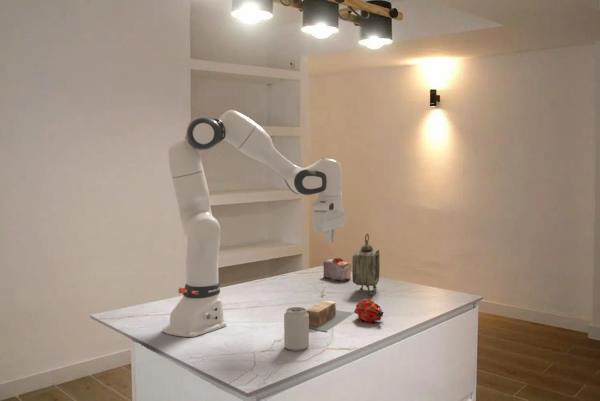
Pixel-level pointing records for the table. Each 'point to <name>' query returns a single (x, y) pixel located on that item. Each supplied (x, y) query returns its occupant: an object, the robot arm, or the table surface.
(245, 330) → the table surface
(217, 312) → the robot arm
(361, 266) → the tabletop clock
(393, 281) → the table surface
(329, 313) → the light brown wooden block
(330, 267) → the food item
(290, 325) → the can
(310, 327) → the rubber mat
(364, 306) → the dragon fruit
